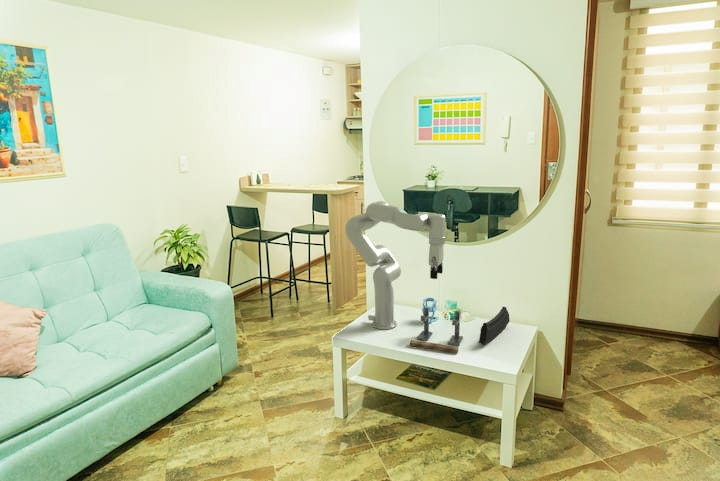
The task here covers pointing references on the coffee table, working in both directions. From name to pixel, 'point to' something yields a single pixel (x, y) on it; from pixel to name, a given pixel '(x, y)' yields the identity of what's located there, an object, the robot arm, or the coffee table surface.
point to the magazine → (494, 326)
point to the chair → (430, 308)
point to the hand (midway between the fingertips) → (436, 275)
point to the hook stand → (426, 334)
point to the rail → (434, 346)
